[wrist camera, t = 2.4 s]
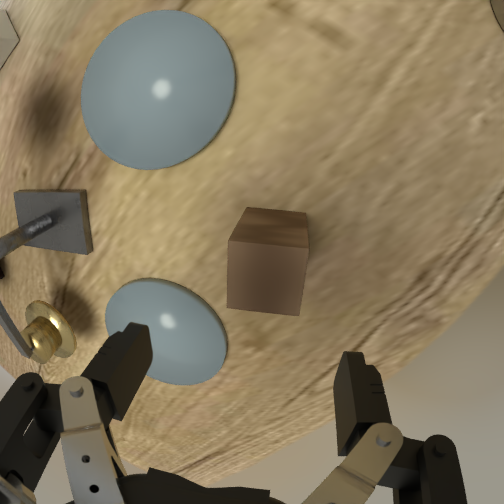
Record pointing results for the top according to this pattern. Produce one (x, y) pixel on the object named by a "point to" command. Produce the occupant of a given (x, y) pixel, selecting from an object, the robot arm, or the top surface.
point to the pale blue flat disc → (158, 89)
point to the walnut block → (268, 261)
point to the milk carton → (6, 37)
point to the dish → (171, 329)
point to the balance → (55, 238)
